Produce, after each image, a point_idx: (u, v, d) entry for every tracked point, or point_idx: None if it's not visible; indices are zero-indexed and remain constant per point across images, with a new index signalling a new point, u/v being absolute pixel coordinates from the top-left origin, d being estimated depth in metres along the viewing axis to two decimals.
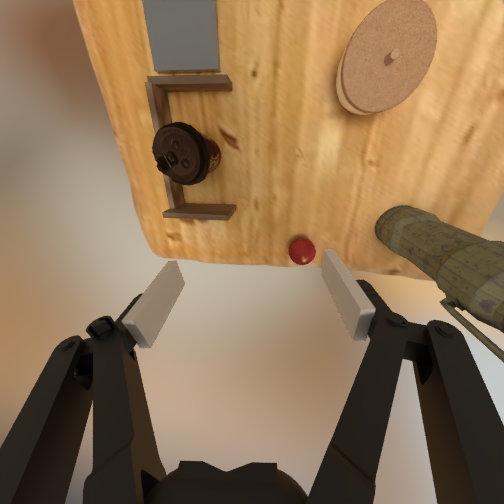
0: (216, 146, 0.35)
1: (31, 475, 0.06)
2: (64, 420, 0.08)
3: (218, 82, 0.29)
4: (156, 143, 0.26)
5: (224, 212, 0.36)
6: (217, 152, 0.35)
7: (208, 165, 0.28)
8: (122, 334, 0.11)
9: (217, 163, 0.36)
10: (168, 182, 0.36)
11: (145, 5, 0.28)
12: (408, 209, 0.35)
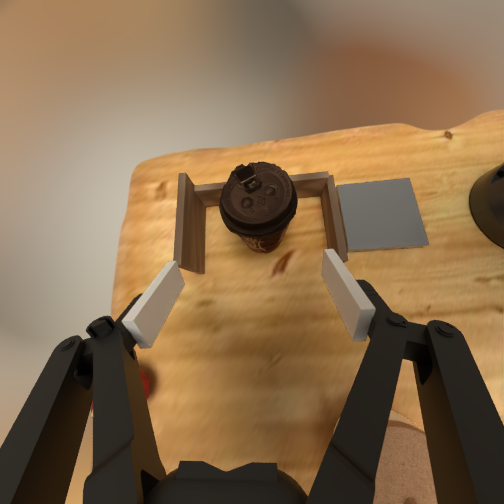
0: (273, 247, 0.29)
1: (31, 475, 0.06)
2: (64, 420, 0.08)
3: (339, 250, 0.25)
4: (269, 166, 0.19)
5: (187, 258, 0.24)
6: (266, 248, 0.28)
7: (247, 236, 0.19)
8: (122, 334, 0.11)
9: (254, 248, 0.28)
10: None
11: (385, 182, 0.29)
12: None
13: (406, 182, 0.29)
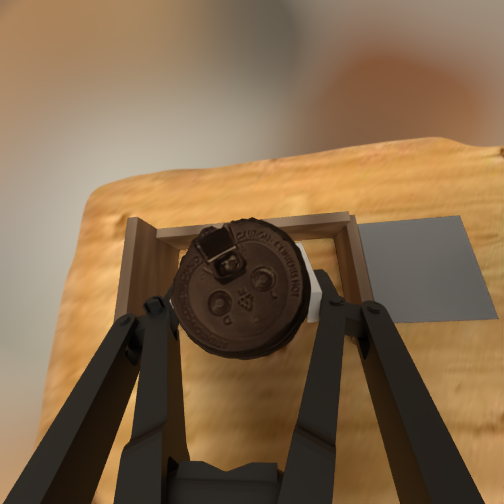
0: None
1: (80, 440, 0.07)
2: (112, 392, 0.09)
3: None
4: (261, 232, 0.10)
5: None
6: None
7: (221, 356, 0.10)
8: (170, 314, 0.12)
9: None
10: None
11: (425, 221, 0.21)
12: None
13: (456, 222, 0.21)
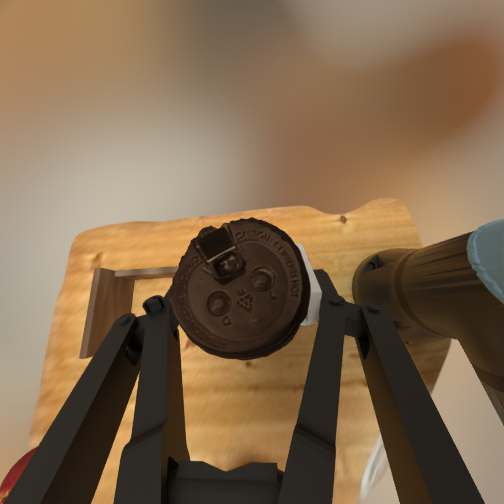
0: None
1: (80, 440, 0.07)
2: (112, 392, 0.09)
3: None
4: (260, 232, 0.10)
5: (97, 346, 0.28)
6: None
7: (221, 357, 0.10)
8: (170, 314, 0.12)
9: None
10: (143, 273, 0.32)
11: None
12: None
13: None
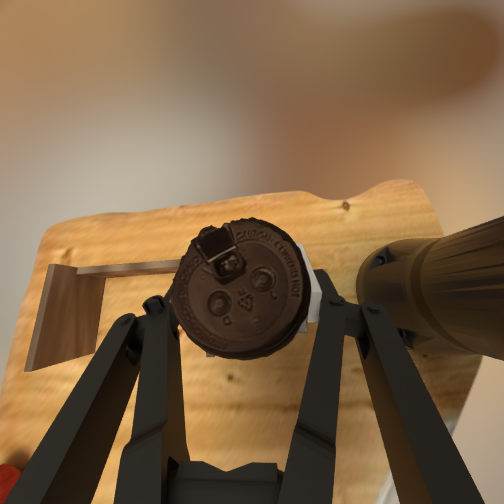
0: None
1: (80, 439, 0.07)
2: (112, 392, 0.09)
3: None
4: (261, 232, 0.10)
5: (50, 356, 0.24)
6: None
7: None
8: (170, 314, 0.12)
9: None
10: (108, 270, 0.27)
11: None
12: None
13: None
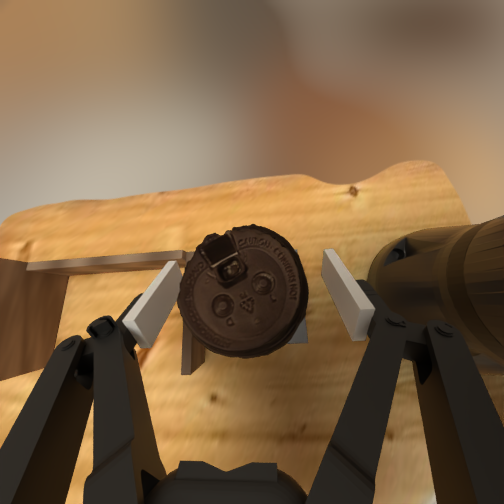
0: None
1: (31, 475, 0.06)
2: (64, 420, 0.08)
3: (182, 359, 0.19)
4: (261, 239, 0.11)
5: None
6: None
7: (224, 355, 0.11)
8: (122, 334, 0.11)
9: None
10: (64, 265, 0.22)
11: None
12: None
13: None
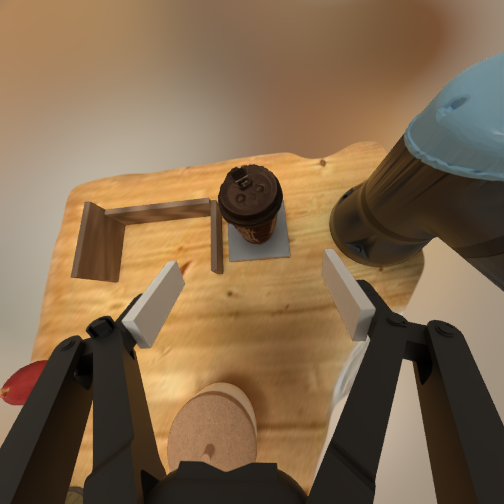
0: (265, 239, 0.32)
1: (31, 475, 0.06)
2: (64, 420, 0.08)
3: (211, 262, 0.31)
4: (259, 168, 0.23)
5: (88, 271, 0.30)
6: (260, 240, 0.32)
7: (241, 226, 0.23)
8: (122, 334, 0.11)
9: (248, 240, 0.32)
10: (130, 210, 0.34)
11: None
12: None
13: None
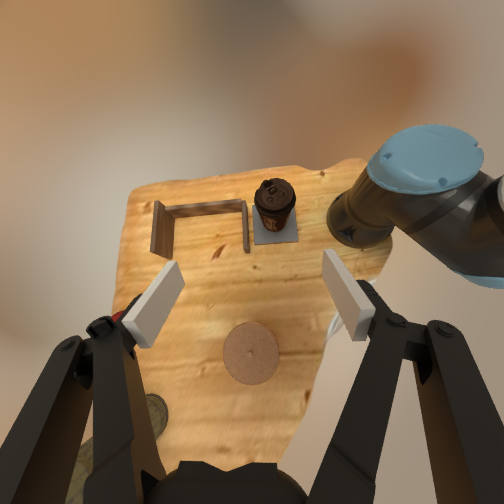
0: (281, 228, 0.46)
1: (31, 475, 0.06)
2: (64, 420, 0.08)
3: (243, 243, 0.44)
4: (281, 180, 0.36)
5: (158, 248, 0.44)
6: (277, 228, 0.45)
7: (270, 216, 0.36)
8: (122, 334, 0.11)
9: (269, 228, 0.45)
10: (184, 207, 0.48)
11: None
12: (159, 419, 0.38)
13: None
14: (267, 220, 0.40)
